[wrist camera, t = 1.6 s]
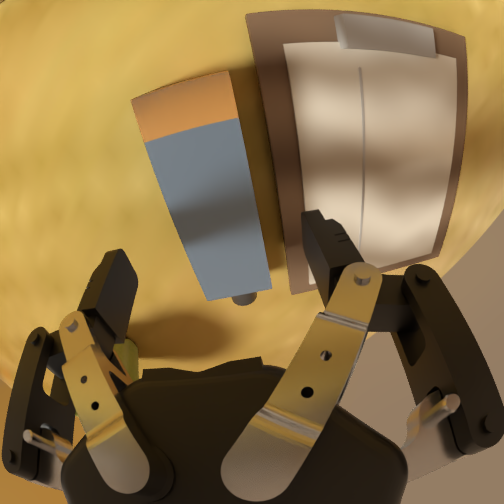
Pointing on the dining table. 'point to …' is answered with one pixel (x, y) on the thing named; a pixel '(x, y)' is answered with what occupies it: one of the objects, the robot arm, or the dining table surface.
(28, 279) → the dining table surface
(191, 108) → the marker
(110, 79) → the dining table surface
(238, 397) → the robot arm
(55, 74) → the dining table surface
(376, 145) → the clipboard
